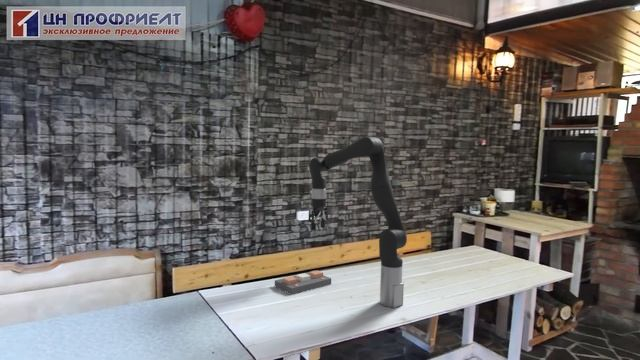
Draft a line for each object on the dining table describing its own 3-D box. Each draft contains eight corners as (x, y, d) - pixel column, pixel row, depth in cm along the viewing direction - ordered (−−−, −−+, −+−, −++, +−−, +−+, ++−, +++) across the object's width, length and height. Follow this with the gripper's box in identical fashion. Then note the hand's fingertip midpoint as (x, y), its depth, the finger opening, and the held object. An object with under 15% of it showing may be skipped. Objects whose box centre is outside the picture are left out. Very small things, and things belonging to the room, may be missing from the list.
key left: (297, 285, 196) (297, 278, 195) (288, 287, 192) (288, 280, 192) (291, 282, 199) (291, 276, 199) (282, 284, 196) (282, 278, 196)
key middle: (310, 281, 201) (310, 275, 200) (302, 283, 198) (302, 277, 197) (304, 279, 205) (304, 273, 204) (296, 281, 201) (296, 275, 201)
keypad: (331, 284, 203) (331, 277, 203) (291, 294, 188) (291, 288, 188) (313, 277, 214) (313, 271, 214) (274, 286, 199) (274, 280, 199)
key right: (323, 278, 206) (323, 272, 205) (315, 280, 203) (315, 274, 202) (316, 276, 210) (316, 270, 209) (309, 277, 206) (309, 272, 206)
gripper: (317, 199, 199) (316, 232, 201) (332, 196, 211) (331, 227, 212) (304, 198, 203) (304, 230, 205) (320, 195, 215) (319, 226, 217)
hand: (318, 229), depth 209 cm, fingers open, 8 cm apart
